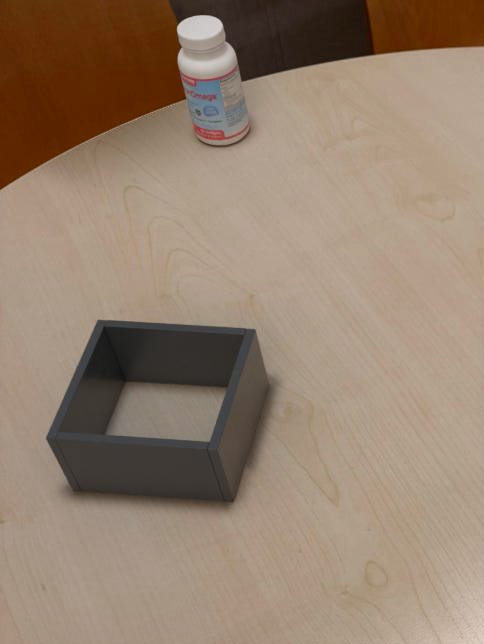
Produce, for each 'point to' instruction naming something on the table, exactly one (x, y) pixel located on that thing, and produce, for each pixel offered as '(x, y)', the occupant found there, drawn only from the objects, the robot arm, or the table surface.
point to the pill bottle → (211, 81)
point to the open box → (169, 368)
